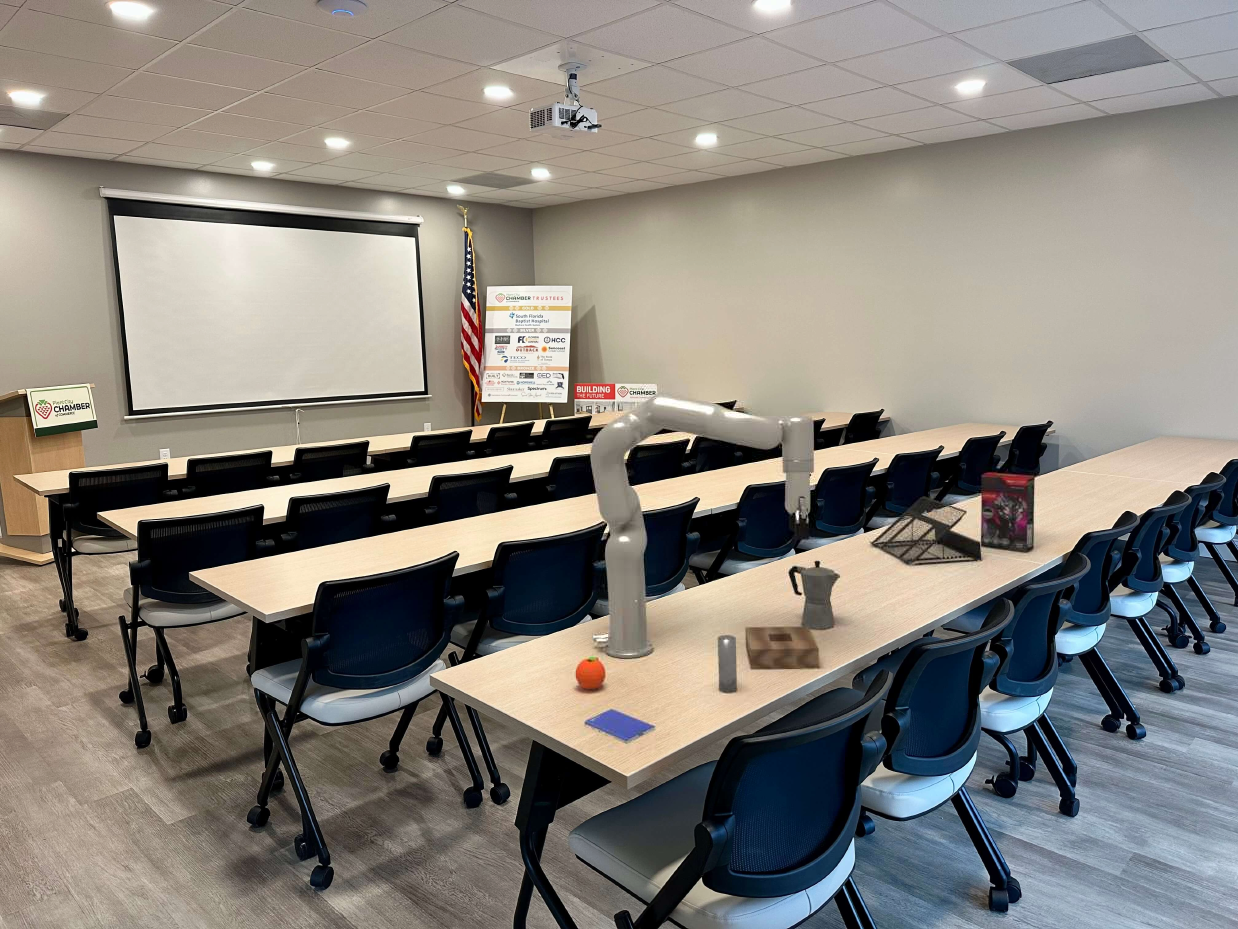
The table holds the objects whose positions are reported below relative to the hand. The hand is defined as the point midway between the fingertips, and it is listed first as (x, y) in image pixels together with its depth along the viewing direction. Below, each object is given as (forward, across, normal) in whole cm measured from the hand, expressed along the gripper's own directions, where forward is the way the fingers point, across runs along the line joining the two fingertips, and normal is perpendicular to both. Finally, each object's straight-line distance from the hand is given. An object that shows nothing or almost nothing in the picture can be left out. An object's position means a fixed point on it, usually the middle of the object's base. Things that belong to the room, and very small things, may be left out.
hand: (799, 534), depth 206 cm
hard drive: (+31, +42, -43) cm, 68 cm away
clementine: (+30, +21, -51) cm, 63 cm away
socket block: (+30, +4, -5) cm, 31 cm away
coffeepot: (+30, -21, +7) cm, 37 cm away
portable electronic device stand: (+31, -99, +59) cm, 120 cm away
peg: (+30, +23, -20) cm, 43 cm away
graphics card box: (+30, -103, +90) cm, 140 cm away
